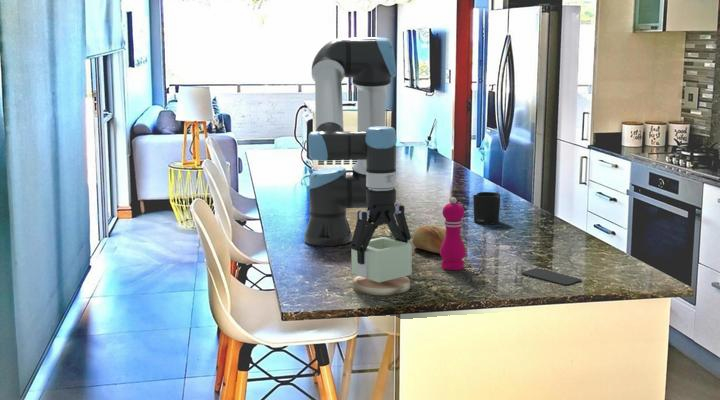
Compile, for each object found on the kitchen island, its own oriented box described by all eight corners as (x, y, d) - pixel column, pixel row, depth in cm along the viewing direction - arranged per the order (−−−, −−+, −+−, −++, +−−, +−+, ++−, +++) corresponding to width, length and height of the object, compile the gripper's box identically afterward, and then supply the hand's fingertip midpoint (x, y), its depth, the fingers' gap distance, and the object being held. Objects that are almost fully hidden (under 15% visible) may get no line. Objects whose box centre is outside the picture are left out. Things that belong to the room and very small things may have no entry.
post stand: (384, 275, 215) (384, 248, 214) (422, 287, 203) (422, 259, 202) (340, 285, 206) (340, 257, 204) (377, 299, 194) (377, 269, 193)
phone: (567, 285, 203) (519, 272, 214) (566, 288, 204) (519, 275, 215) (583, 279, 208) (536, 267, 219) (583, 282, 208) (536, 270, 219)
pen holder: (468, 220, 282) (468, 192, 280) (492, 218, 285) (492, 191, 283) (480, 225, 273) (480, 197, 272) (504, 223, 276) (505, 195, 274)
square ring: (383, 265, 212) (383, 236, 210) (411, 274, 203) (411, 244, 202) (351, 273, 205) (351, 243, 203) (378, 282, 196) (378, 251, 195)
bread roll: (436, 259, 231) (437, 232, 230) (404, 249, 243) (404, 223, 242) (460, 253, 237) (461, 227, 235) (427, 244, 249) (427, 219, 247)
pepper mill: (463, 263, 226) (464, 195, 222) (467, 270, 218) (468, 199, 215) (438, 264, 225) (438, 195, 222) (441, 271, 218) (442, 200, 214)
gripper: (353, 195, 190) (354, 283, 194) (425, 184, 204) (424, 266, 208) (335, 191, 195) (336, 276, 200) (405, 181, 210) (405, 260, 214)
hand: (381, 271), depth 204 cm, fingers closed on square ring, 11 cm apart
